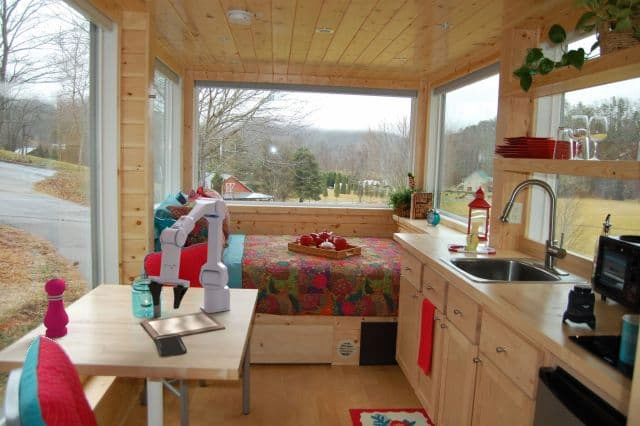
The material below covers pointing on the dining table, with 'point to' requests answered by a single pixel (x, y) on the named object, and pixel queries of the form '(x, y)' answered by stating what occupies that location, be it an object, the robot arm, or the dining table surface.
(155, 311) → the marker
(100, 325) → the dining table surface
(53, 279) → the pepper mill
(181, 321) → the drawing pad
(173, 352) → the phone
